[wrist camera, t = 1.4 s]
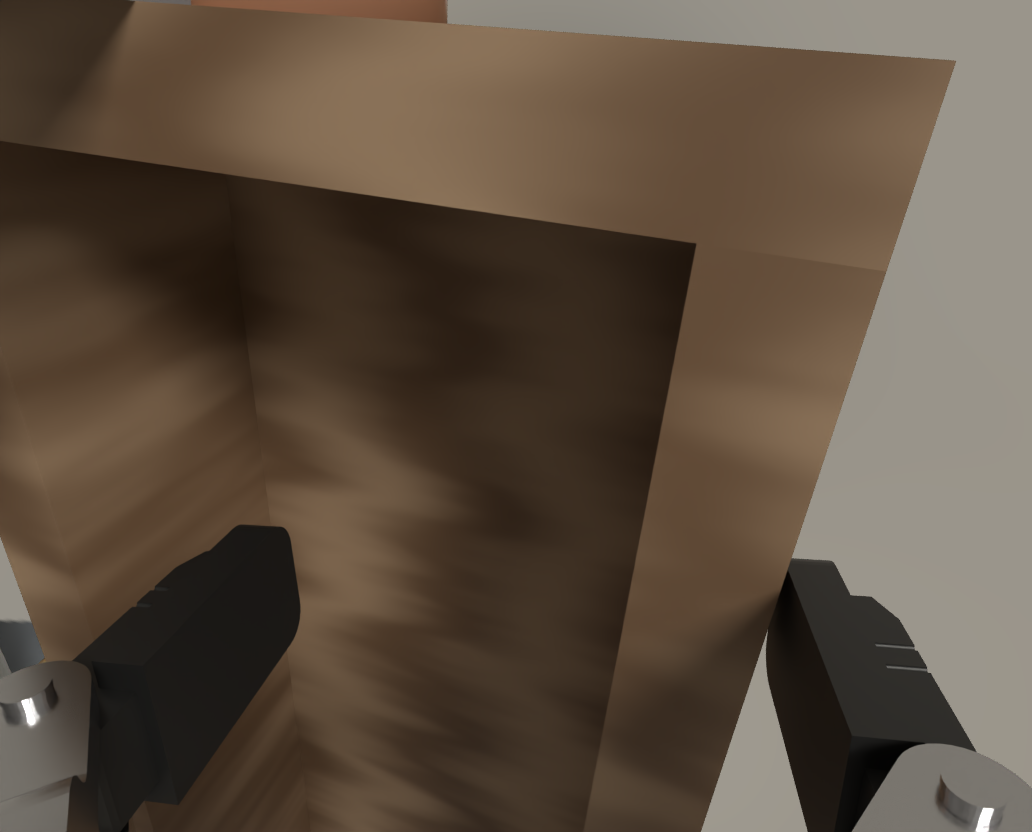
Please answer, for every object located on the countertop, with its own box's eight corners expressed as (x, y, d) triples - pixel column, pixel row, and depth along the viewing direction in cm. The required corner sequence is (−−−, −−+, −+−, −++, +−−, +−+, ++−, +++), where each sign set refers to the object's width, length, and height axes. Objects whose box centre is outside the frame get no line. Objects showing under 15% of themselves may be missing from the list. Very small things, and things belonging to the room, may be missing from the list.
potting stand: (165, 984, 26) (-207, -25, 11) (299, 784, 33) (194, 7, 18) (578, 1201, 22) (955, 60, 6) (630, 919, 29) (867, 58, 14)
